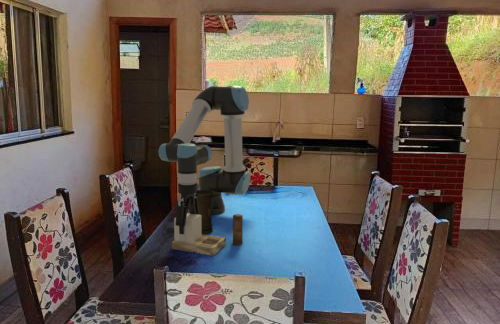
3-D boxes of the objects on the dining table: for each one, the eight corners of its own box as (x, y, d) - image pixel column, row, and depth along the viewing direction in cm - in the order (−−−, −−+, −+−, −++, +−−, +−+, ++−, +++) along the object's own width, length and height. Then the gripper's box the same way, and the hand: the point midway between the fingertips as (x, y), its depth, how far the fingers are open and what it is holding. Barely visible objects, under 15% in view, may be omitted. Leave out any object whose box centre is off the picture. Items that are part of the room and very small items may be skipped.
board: (186, 238, 166) (186, 220, 165) (225, 244, 160) (225, 226, 159) (172, 248, 155) (171, 229, 154) (213, 255, 149) (213, 236, 148)
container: (194, 235, 170) (193, 195, 167) (191, 228, 179) (191, 190, 176) (214, 233, 173) (214, 194, 169) (210, 226, 181) (210, 189, 178)
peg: (234, 241, 164) (235, 213, 162) (243, 242, 163) (244, 214, 161) (231, 244, 160) (231, 216, 158) (240, 245, 159) (240, 217, 157)
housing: (184, 233, 164) (184, 212, 162) (201, 235, 161) (201, 215, 160) (174, 240, 156) (174, 218, 155) (192, 242, 154) (192, 220, 152)
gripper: (191, 176, 166) (192, 228, 170) (165, 187, 146) (166, 245, 150) (207, 178, 163) (207, 230, 167) (182, 189, 144) (183, 248, 148)
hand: (188, 237), depth 159 cm, fingers closed on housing, 8 cm apart
